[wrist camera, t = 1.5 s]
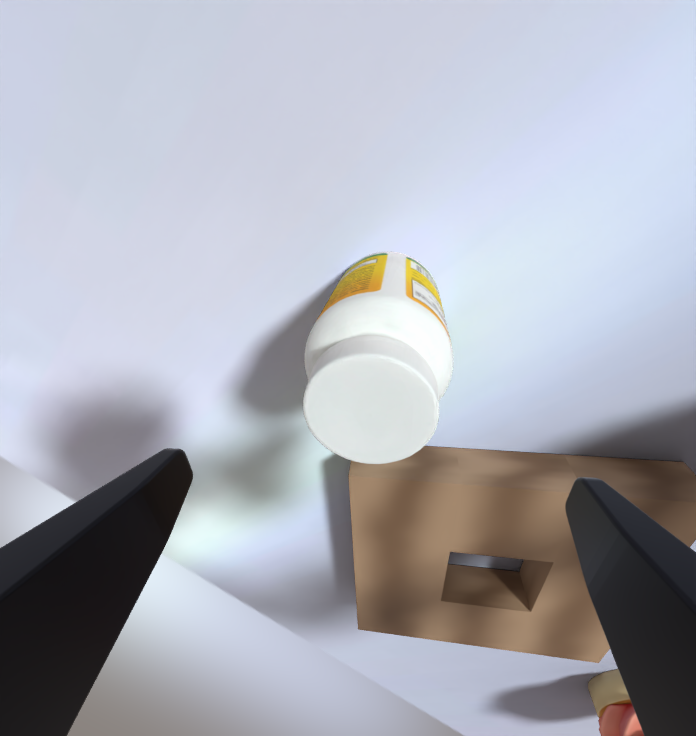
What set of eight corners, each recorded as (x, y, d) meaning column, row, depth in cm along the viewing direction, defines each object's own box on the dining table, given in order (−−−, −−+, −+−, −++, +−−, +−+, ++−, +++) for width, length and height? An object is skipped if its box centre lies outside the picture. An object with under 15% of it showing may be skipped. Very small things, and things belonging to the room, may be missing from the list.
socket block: (683, 462, 21) (723, 504, 18) (582, 621, 31) (598, 662, 28) (354, 441, 23) (348, 475, 21) (361, 593, 34) (358, 629, 31)
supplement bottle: (452, 261, 16) (500, 357, 8) (421, 356, 19) (434, 496, 11) (343, 239, 17) (287, 311, 8) (328, 335, 19) (275, 460, 11)
